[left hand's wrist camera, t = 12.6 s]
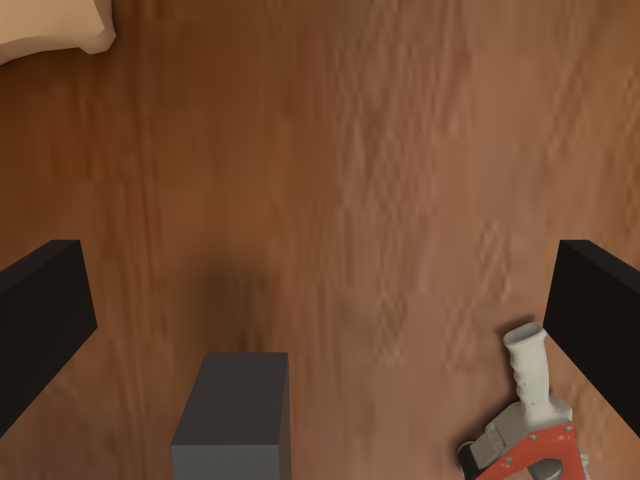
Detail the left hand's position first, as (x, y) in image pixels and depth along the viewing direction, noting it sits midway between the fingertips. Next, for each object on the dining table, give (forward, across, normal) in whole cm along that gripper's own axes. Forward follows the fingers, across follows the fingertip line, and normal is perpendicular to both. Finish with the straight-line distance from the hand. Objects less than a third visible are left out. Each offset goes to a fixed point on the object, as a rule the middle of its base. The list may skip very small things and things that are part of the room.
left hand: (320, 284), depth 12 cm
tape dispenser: (+28, +22, -29) cm, 46 cm away
